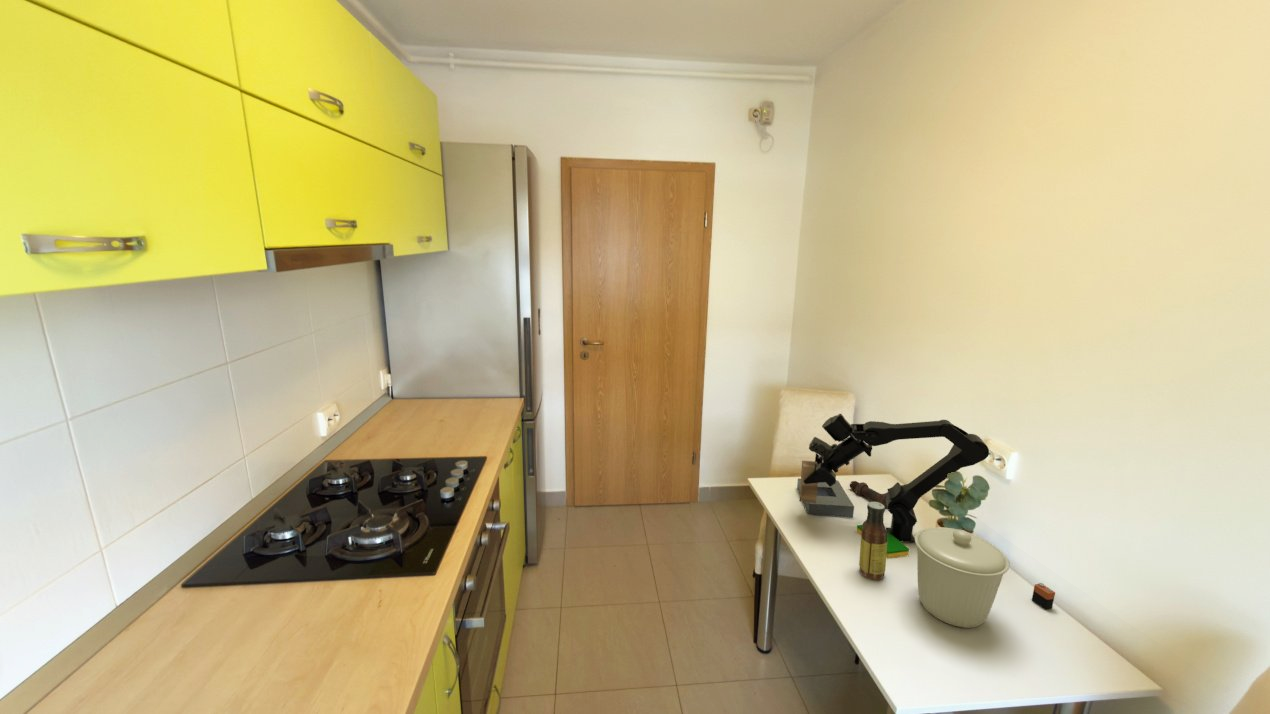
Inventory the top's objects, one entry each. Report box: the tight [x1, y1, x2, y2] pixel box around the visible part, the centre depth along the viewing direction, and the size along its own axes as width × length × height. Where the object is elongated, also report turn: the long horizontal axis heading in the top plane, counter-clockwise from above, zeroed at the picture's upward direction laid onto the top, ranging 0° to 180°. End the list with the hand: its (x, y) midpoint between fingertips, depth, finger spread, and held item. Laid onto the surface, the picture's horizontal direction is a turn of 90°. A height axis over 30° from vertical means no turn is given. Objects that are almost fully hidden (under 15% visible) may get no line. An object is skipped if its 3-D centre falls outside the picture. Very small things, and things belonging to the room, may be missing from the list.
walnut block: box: [799, 460, 818, 503], centre depth 149 cm, size 4×4×12 cm
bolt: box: [849, 480, 888, 510], centre depth 164 cm, size 6×5×15 cm
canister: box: [914, 526, 1010, 629], centre depth 110 cm, size 18×18×21 cm
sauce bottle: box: [858, 501, 887, 581], centre depth 124 cm, size 7×6×20 cm
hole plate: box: [796, 477, 855, 519], centre depth 161 cm, size 18×14×4 cm
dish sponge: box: [856, 524, 910, 559], centre depth 139 cm, size 7×14×2 cm, turn 10°
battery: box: [1031, 582, 1056, 610], centre depth 114 cm, size 2×3×5 cm, turn 12°
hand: (804, 479), depth 150 cm, fingers closed on walnut block, 5 cm apart
